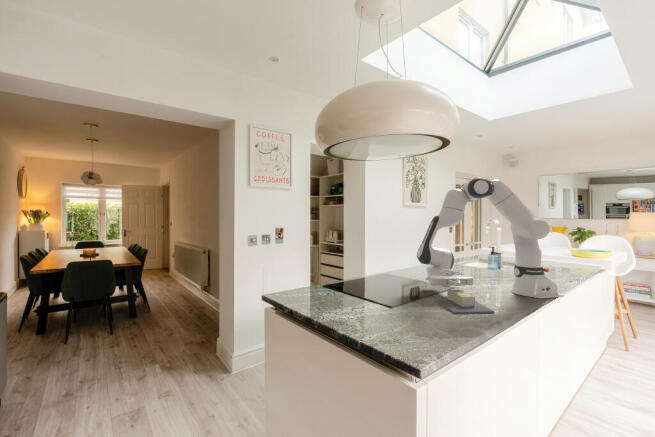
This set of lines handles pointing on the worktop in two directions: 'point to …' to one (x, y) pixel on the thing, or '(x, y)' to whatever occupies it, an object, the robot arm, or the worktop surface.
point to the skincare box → (461, 298)
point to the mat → (464, 308)
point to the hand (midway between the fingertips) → (458, 284)
